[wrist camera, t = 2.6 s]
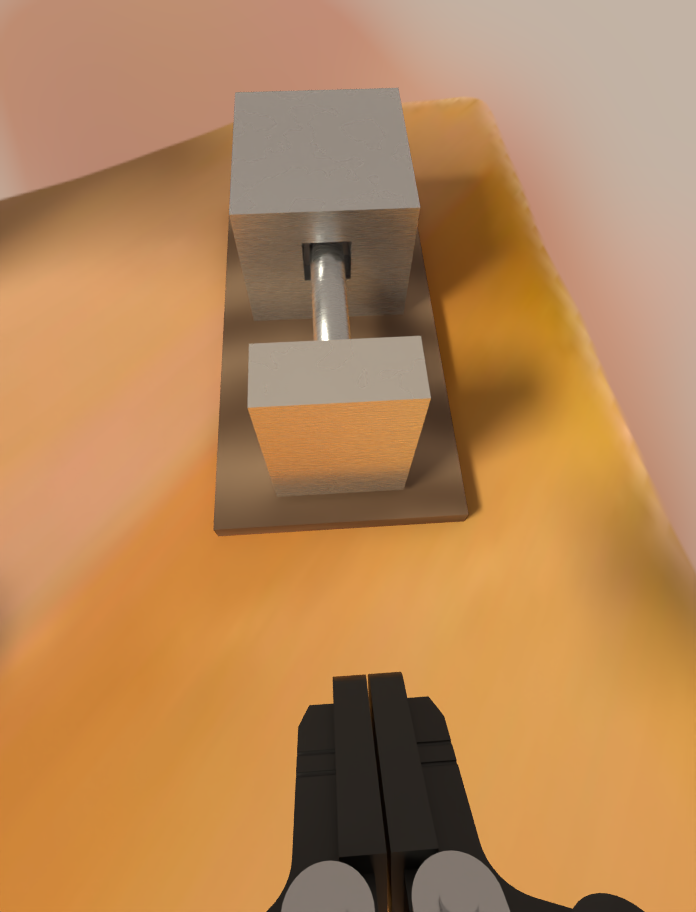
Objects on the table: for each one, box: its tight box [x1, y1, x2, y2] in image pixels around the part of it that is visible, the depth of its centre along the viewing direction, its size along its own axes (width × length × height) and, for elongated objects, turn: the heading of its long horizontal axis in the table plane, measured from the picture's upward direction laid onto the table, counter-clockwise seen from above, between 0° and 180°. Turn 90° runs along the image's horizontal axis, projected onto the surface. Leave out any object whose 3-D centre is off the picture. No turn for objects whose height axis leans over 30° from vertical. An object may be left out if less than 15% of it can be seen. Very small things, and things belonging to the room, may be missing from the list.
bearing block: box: [229, 88, 420, 321], centre depth 32 cm, size 11×10×8 cm
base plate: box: [214, 216, 469, 536], centre depth 34 cm, size 27×14×1 cm, turn 4°
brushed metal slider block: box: [247, 242, 431, 497], centre depth 28 cm, size 21×7×10 cm, turn 4°
